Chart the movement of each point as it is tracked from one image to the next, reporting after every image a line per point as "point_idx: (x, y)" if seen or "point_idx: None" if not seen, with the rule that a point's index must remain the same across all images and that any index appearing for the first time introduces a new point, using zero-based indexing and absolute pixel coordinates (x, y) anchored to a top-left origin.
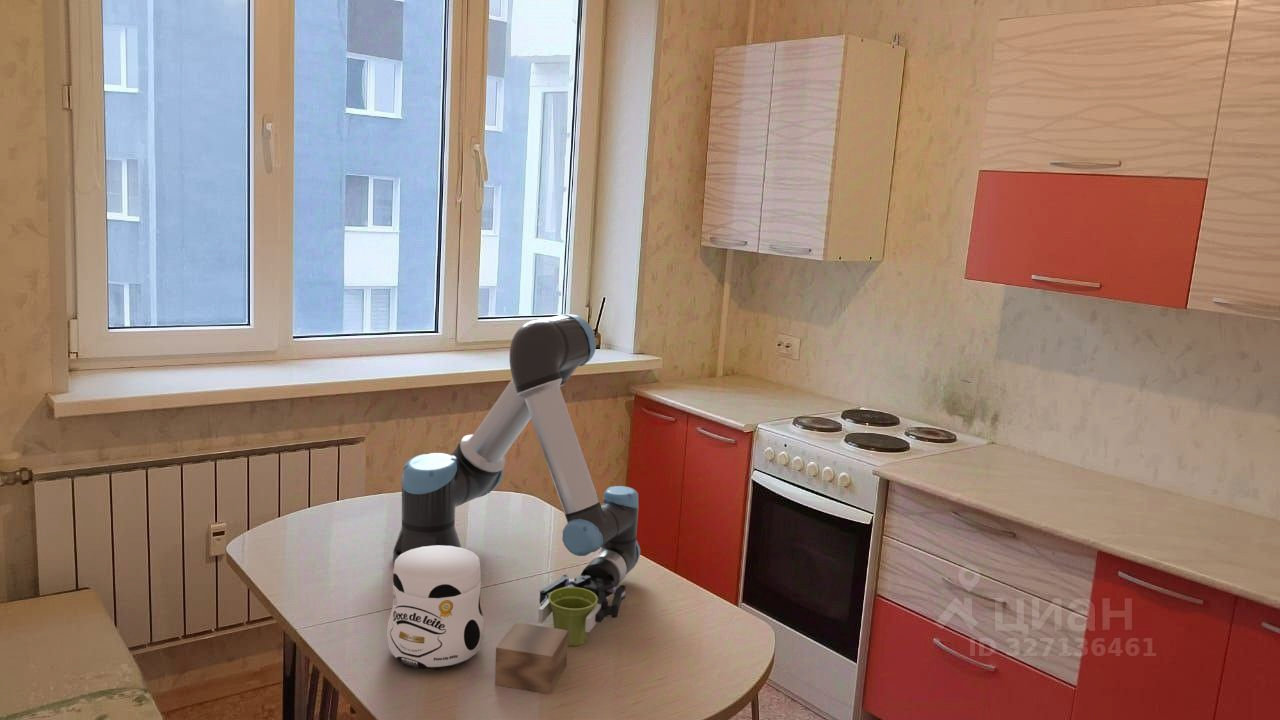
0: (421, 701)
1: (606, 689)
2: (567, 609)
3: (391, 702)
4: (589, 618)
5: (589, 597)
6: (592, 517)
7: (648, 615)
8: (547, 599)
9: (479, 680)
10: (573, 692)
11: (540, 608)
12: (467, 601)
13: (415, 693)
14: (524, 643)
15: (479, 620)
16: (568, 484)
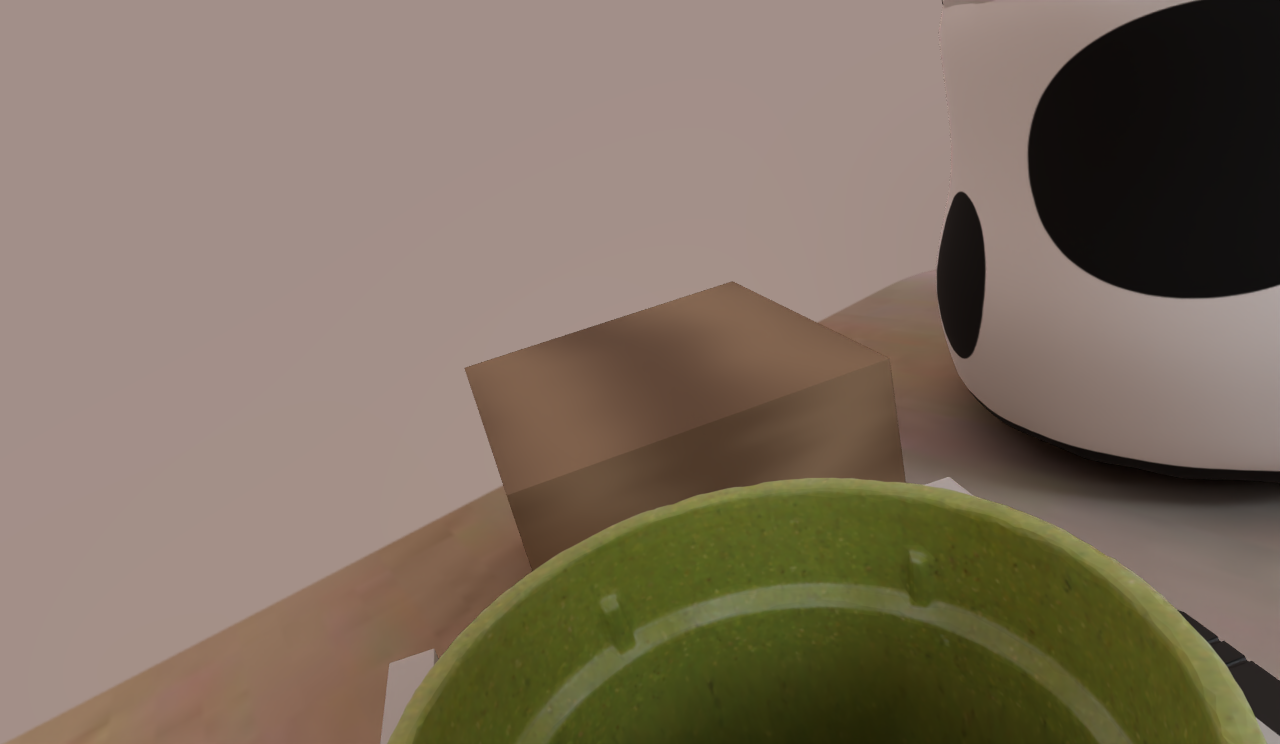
0: (863, 323)
1: (264, 718)
2: (629, 527)
3: (918, 290)
4: (393, 668)
5: None
6: None
7: None
8: (1262, 720)
9: None
10: (429, 604)
11: (945, 487)
12: (947, 66)
13: (920, 320)
14: (650, 336)
15: (1011, 250)
16: None
